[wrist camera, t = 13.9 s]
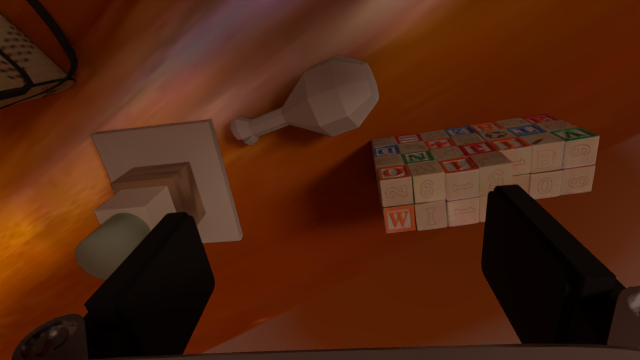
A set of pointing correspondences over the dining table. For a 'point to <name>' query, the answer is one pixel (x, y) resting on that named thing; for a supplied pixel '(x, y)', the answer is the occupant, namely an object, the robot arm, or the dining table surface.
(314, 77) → the chicken leg
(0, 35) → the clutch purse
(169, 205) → the middle block
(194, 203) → the base block
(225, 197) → the grey board
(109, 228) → the olive domed cylinder
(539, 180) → the stack of blocks
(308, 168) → the dining table surface
